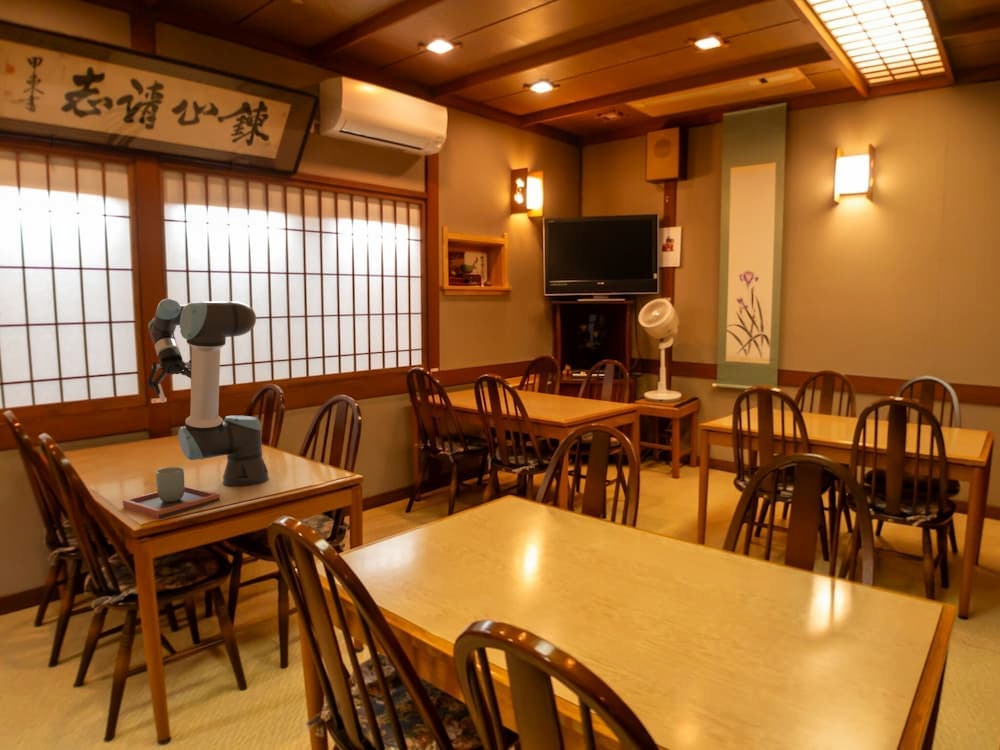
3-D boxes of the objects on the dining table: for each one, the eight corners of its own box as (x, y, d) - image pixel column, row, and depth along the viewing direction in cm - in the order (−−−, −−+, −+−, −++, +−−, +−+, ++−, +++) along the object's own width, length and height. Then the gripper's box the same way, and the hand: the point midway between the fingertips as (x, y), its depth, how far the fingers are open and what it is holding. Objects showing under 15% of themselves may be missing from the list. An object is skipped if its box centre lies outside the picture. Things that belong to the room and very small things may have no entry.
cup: (190, 497, 213) (188, 467, 212) (176, 504, 206) (174, 473, 205) (167, 496, 214) (165, 466, 213) (152, 504, 207) (150, 473, 205)
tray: (219, 501, 213) (219, 494, 213) (158, 519, 196) (158, 511, 196) (183, 491, 224) (183, 484, 224) (123, 507, 207) (122, 500, 207)
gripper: (202, 357, 254) (218, 400, 245) (129, 362, 238) (143, 409, 229) (205, 344, 250) (222, 388, 240) (132, 348, 233) (146, 395, 224)
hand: (184, 398), depth 234 cm, fingers open, 13 cm apart
